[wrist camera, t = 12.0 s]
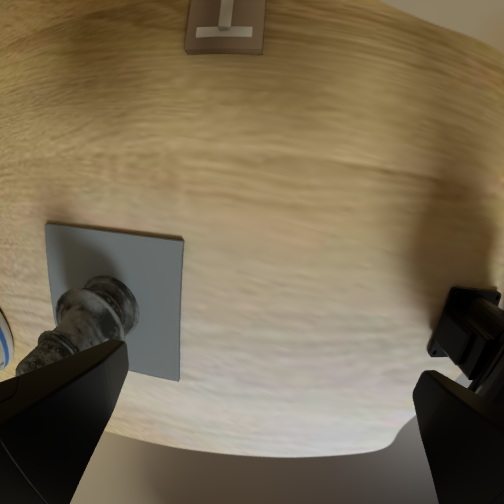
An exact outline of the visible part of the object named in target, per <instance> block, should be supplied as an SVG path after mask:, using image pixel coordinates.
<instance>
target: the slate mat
mask: <svg viewBox="0 0 504 504" xmlns="http://www.w3.org/2000/svg"><path fill="white" fill-rule="evenodd" d="M45 235H46V253H47V265H48V276H49V285H50V293H51V300H52V307H53V313H54V319H55V325H56V327H57V326H58V325H57V321H56V305H57V301H58V300H59V298H60V297H61V295H62V294H63V293H65V292H66V291H68V290H70V289H75V288H80V289H82V288H83V287H84V285H85V284H86V283H87V281H88V280H90V279H91V278H93V277H95V276H99V275H105V276H110V277H113V278H116V279H118V280H119V281H121V282H122V283H124V284H125V285H126V286H127V287H128V288H129V289H130V291H131V292H132V294H133V295H134V297H135V299H136V302H137V304H138V308H139V321H138V324H137V326H136V328H135V329H134V330H133V331H132V332H131V333H130V334H128V335H126V336H125V342H126V344H127V350H128V360H129V369H128V370H129V371H133V372H137V373H141V374H145V375H149V376H154V377H158V378H163V379H168V380H173V381H178V382H179V380H180V316H181V288H182V268H183V251H184V240H176V239H169V238H161V237H153V236H145V235H138V234H130V233H122V232H114V231H106V230H99V229H91V228H83V227H75V226H67V225H59V224H51V223H47V224H45Z"/></svg>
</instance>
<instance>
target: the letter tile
mask: <svg viewBox="0 0 504 504" xmlns="http://www.w3.org/2000/svg"><path fill="white" fill-rule="evenodd" d="M265 6H266V0H191V6H190V12H189V18H188V25H187V32H186V39H185V46H184V50H185V52H186V53H187V55H198V54H253V55H262V50H263V36H264V21H265Z"/></svg>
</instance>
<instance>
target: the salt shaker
mask: <svg viewBox="0 0 504 504" xmlns="http://www.w3.org/2000/svg"><path fill="white" fill-rule="evenodd" d="M56 321H57V325H58V326H57V327H56V328H55V329H54V330H53V331H45V332H43V333H42V334H41V335H40V336H39V338H38V346H37V347H36V348H35V349H34V350H32V351H31V352H30V353H29V354H28V355H27V356H26V357H25V358H24V359H23V360H22V361H21V362H20V363H19V364H18V366H17V368H16V376H20V375H21V374H24V373H27V372H29V371H32V370H34V369H37V368H40V367H42V366H45V365H47V364H50V363H52V362H55V361H58V360H60V359H63V358H65V357H68V356H70V355H73V354H75V353H78V352H80V351H83V350H85V349H88V348H90V347H93V346H95V345H98V344H100V343H102V342H105V341H107V340H110V339H113V338H114V339H119V340H123V341H125V336H126V335H128V334H130V333H131V332H132V331H133V330H134V329H135V328H136V326H137V324H138V321H139V308H138V304H137V302H136V299H135V297H134V295H133V294H132V292H131V291H130V289H129V288H128V287H127V286H126V285H125V284H124V283H122V282H121V281H119V280H118V279H116V278H113V277H110V276H105V275H99V276H95V277H93V278H91V279H90V280H88V281H87V283H86V284H85V285H84V287H83V288H82V289H80V288H75V289H70V290H68V291H66V292H65V293H63V294H62V295H61V297H60V298H59V300H58V301H57V305H56Z"/></svg>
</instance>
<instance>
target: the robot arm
mask: <svg viewBox="0 0 504 504" xmlns="http://www.w3.org/2000/svg"><path fill="white" fill-rule="evenodd" d="M456 291H457V292H456ZM455 292H456V294H455ZM454 294H455V295H454ZM496 296H497V297H496ZM500 298H501V293H499V292H498V291H493V290H484V289H475V288H466V287H458V286H455V287H453V288H452V289H451V290H450V293H449V296H448V299H447V302H446V305H445V308H444V311H443V314H442V317H441V319H440V322H439V325H438V327H437V330H436V333H435V335H434V338H433V340H432V343H431V345H430V348H429V350H428V354H429V355H430V356H431V357H449V358H450V359H451V360H452V362H453V363H454V364H455V365H457V366H458V367H459V368H460V370H461V371H462V372H463V373H464V374H465V376H466V377H467V378H468V379H469V380H473V381H472V383H471V384H470V385H469V387H468V388H465V387H463V386H462V385H460V384H458V383H456V382H455V381H453V380H451V379H450V378H448V377H446V376H444V375H443V374H441V373H439V372H437V371H435V370H426V371H424V372H423V373H422V374H421V376H420V378H419V380H418V382H417V384H416V386H415V388H414V390H413V401H414V406H415V411H416V415H417V420H418V425H419V430H420V435H421V438H422V442H423V445H424V449H425V452H426V456H427V459H428V463H429V466H430V470H431V474H432V478H433V482H434V485H435V490H436V494H437V498H438V502H439V504H504V311H503V310H502V309H500V308H499V307H498V304H499V301H500ZM434 350H435V351H434ZM433 351H434V352H433ZM128 369H129V360H128V350H127V344H126V342H125V341H123V340H119V339H114V338H113V339H110V340H107V341H105V342H102V343H100V344H98V345H95V346H93V347H90V348H88V349H85V350H83V351H80V352H78V353H75V354H73V355H70V356H68V357H65V358H63V359H60V360H58V361H55V362H52V363H50V364H47V365H45V366H42V367H40V368H37V369H34V370H32V371H29V372H27V373H24V374H21V375H20V376H16V377H13V378H11V379H8V380H5V381H2V382H0V504H70V502H71V500H72V497H73V495H74V493H75V491H76V488H77V486H78V484H79V481H80V480H81V477H82V475H83V473H84V471H85V469H86V467H87V465H88V462H89V460H90V458H91V456H92V454H93V452H94V450H95V448H96V446H97V444H98V442H99V439H100V437H101V435H102V433H103V431H104V429H105V427H106V425H107V423H108V421H109V419H110V417H111V415H112V413H113V411H114V408H115V405H116V403H117V400H118V397H119V394H120V392H121V389H122V386H123V383H124V381H125V378H126V375H127V373H128Z"/></svg>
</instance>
